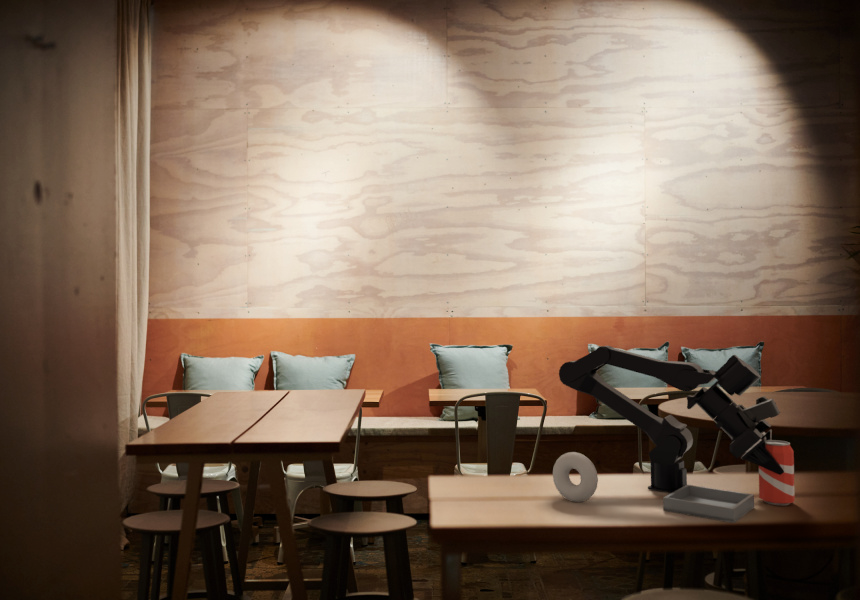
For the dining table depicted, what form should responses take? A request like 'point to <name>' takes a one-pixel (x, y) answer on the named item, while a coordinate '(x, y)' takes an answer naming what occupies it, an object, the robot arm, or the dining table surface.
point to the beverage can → (773, 484)
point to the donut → (586, 472)
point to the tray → (709, 503)
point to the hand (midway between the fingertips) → (784, 470)
